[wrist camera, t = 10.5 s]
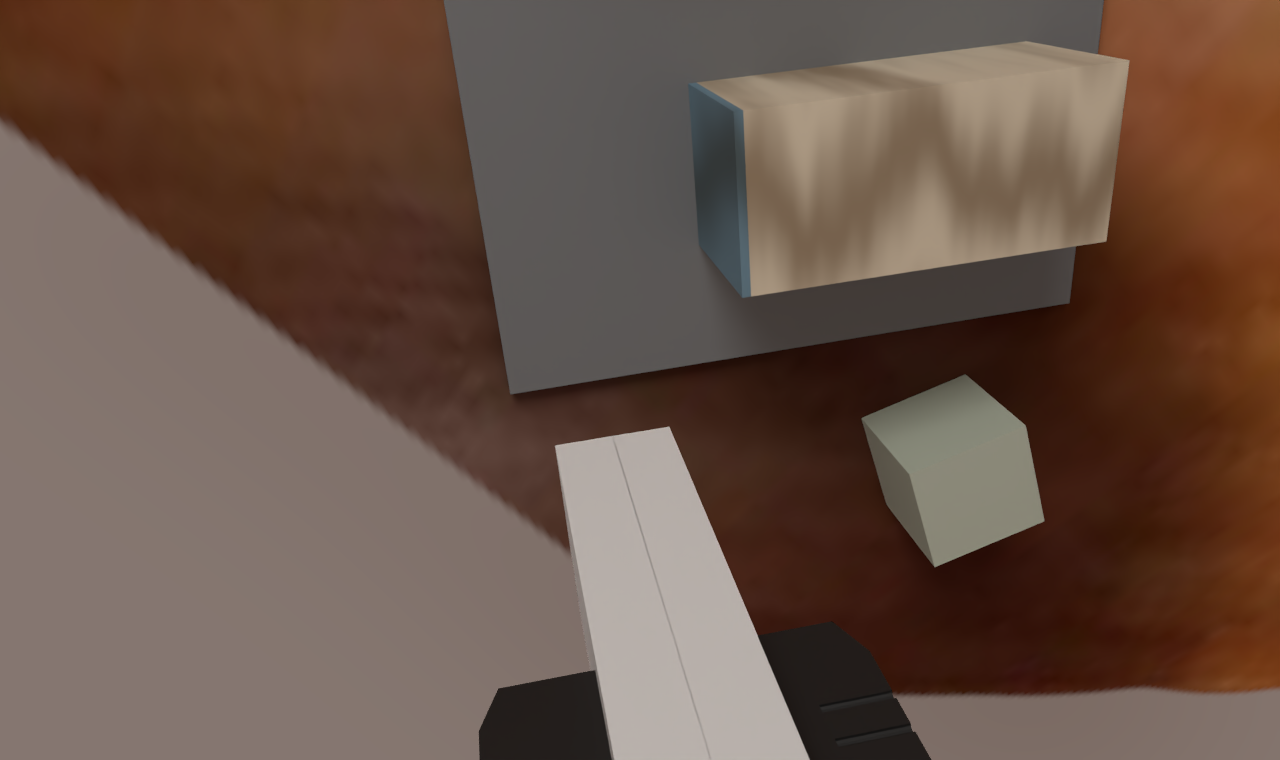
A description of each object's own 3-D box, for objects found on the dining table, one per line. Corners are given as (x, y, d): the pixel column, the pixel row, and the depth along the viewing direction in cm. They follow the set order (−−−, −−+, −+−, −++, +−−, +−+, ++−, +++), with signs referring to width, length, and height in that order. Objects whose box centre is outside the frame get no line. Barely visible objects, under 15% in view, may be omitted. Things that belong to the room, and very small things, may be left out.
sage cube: (860, 417, 42) (909, 474, 38) (964, 373, 42) (1025, 425, 38) (885, 503, 45) (934, 567, 40) (984, 462, 45) (1044, 521, 40)
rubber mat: (436, -46, 31) (435, -46, 31) (1106, -117, 34) (1117, -117, 34) (509, 387, 38) (510, 394, 38) (1061, 298, 41) (1069, 303, 41)
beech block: (733, 111, 29) (1129, 60, 30) (687, 83, 34) (1026, 41, 36) (742, 297, 31) (1106, 241, 33) (698, 244, 37) (1013, 198, 38)
